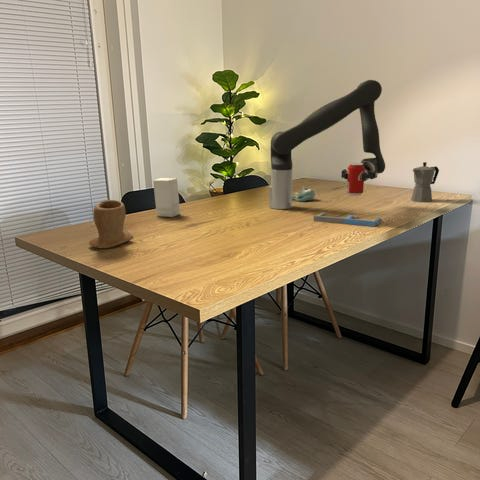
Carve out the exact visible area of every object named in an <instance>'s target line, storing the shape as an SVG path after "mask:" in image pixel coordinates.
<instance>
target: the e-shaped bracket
mask: <svg viewBox="0 0 480 480" xmlns="http://www.w3.org/2000/svg"><path fill="white" fill-rule="evenodd" d="M325 213H326V212H324V211H323V212H321V213H319V214H317V215H313V221H314V222H321V223H332V224H333V223H334V224H343V225H344V224H345V225H351V226H352V225H354V226H362V227H373V228H375V227H377V225H378V224H380V222H382V217H377V219H375V220H369V219H357V218H354V214H347V215H346V216H345V217H338V216H337V217H336V216H326V215H325Z"/></svg>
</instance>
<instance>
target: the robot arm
mask: <svg viewBox="0 0 480 480" xmlns="http://www.w3.org/2000/svg"><path fill="white" fill-rule="evenodd" d="M382 91H383V88H382V84H381V83H380V82H379V81H377V80H376V79H368V80H365V81H362V82H360V84H359V85H357V87H356V88H355V89H354V90H352V91H351V92H349V93H348V94H346V95H344V96H342V97H340V98H337V99H335V100H332V101H330V102H328V103H327V104H324V105H323V106H321V107H320V108H318V109H316V110H314V111H313V112H312V113H311V114H309V115H307V117H306V118H304V119H303V120H302V121H301V122H300V123H298V124H297V125H295V126H293V127H291V128H289V129H287V130H285V131H277V132H275V133H274V134H273V135H272V137H271V140H270V164H271V165H270V166H271V168H270V169H271V172H270V173H271V174H270V175H271V177H270V178H271V184H270V186H269V209H270V208H271V209H274V210H289V209H292V207H293V203H292V202H293V199H292V195H293V159H292V151H293V150H294V149H295V148H297V147H298V146H299V145H301V144H302V143H304V142H305V141H306V140H309V139H310V138H313V137H315V136H316V135H318V134H320V133H322V132H324V131H326V130H328V129H329V128H331V127H333V126H335V125H336V124H338V123H339V122H341V121H343V119H345V118H346V117H348V116H349V115H351V114H352V113H353V112H355V111H356V110H358V109H359V114H360V120H361V121H360V123H361V134H362V148H363V152H364V153H366V154H372V155H374V157H368V158H363V159H362V160H361V161H360V163H363V166H364V167H365V171H364V174H362V180H364V182H366V181H368V180H374V179H376V178H378V174H383V173H384V171H385V170H386V162H385V159H384V157H383V153H382V151H381V145H380V144H381V142H380V131H379V127H378V123H377V120H376V119H377V118H376V114H375V102H376V101H377V100H378V99H379V98H380V96H381V94H382ZM347 172H348V169H342V170H341V177H340V178H341V179H342V178H343V179H344V180H347Z"/></svg>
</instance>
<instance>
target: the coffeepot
mask: <svg viewBox="0 0 480 480" xmlns="http://www.w3.org/2000/svg"><path fill="white" fill-rule="evenodd" d="M427 163H428V162H426V161H425V162H422V165H423V166H419V167H418V166H417V167H414V168H413V169H412V172H413V179H414V183H415V185H414V187H413V191H412V194H411V198H410V200H411V201H412V202H417V203H430V201H431V202H432V201H433V196H432V195H433V194H432V187H431V185H433V184H435V183H436V180H437V178H438V176H439V172H440V169H439V167H438V166H430V167H429V166H427Z"/></svg>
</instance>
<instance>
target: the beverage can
mask: <svg viewBox="0 0 480 480" xmlns="http://www.w3.org/2000/svg"><path fill="white" fill-rule="evenodd" d="M347 171H348V172H347V179H346V193H347V194H348V195H349V196H354V197H358V196H361V195H362V194H363V193H364V187H365V186H364V184H365V181H364V180H362V174H364V171H365V167H364V166H363V163H361V162H350V163H349V165H348V166H347Z"/></svg>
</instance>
